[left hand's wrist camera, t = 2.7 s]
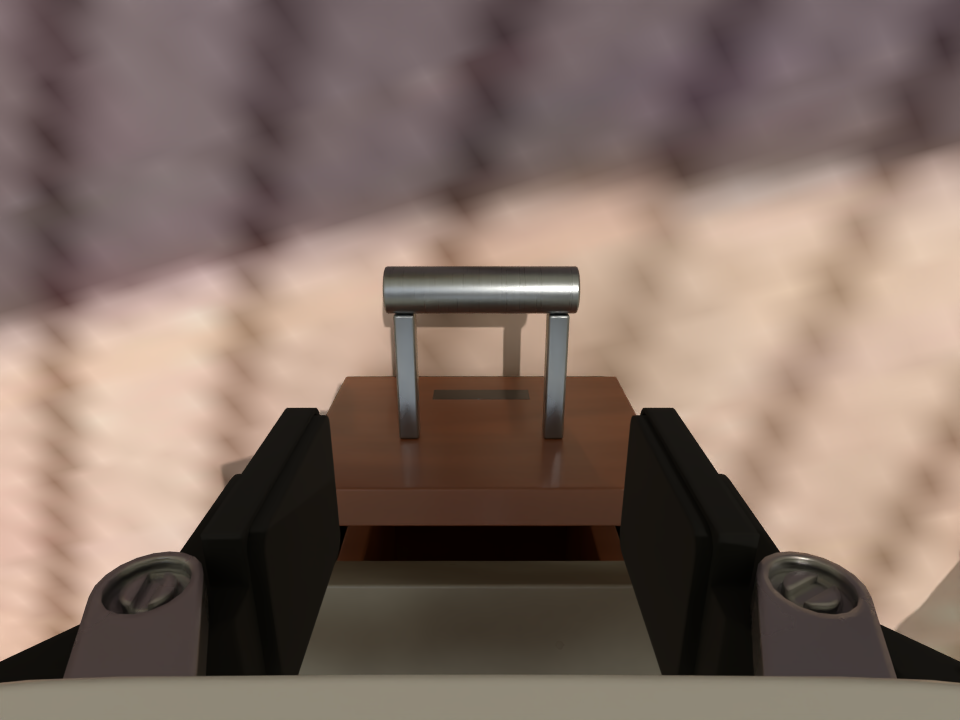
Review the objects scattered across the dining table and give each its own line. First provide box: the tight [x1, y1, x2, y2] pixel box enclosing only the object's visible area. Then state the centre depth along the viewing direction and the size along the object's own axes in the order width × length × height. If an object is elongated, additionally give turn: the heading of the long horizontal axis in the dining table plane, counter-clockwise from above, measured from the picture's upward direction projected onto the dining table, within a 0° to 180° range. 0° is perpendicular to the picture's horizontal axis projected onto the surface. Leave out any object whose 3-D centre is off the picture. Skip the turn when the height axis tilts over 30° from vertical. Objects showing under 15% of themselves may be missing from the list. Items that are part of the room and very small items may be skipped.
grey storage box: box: [298, 526, 662, 675], centre depth 25 cm, size 21×12×10 cm, turn 0°
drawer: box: [327, 266, 636, 561], centre depth 23 cm, size 25×10×8 cm, turn 0°
